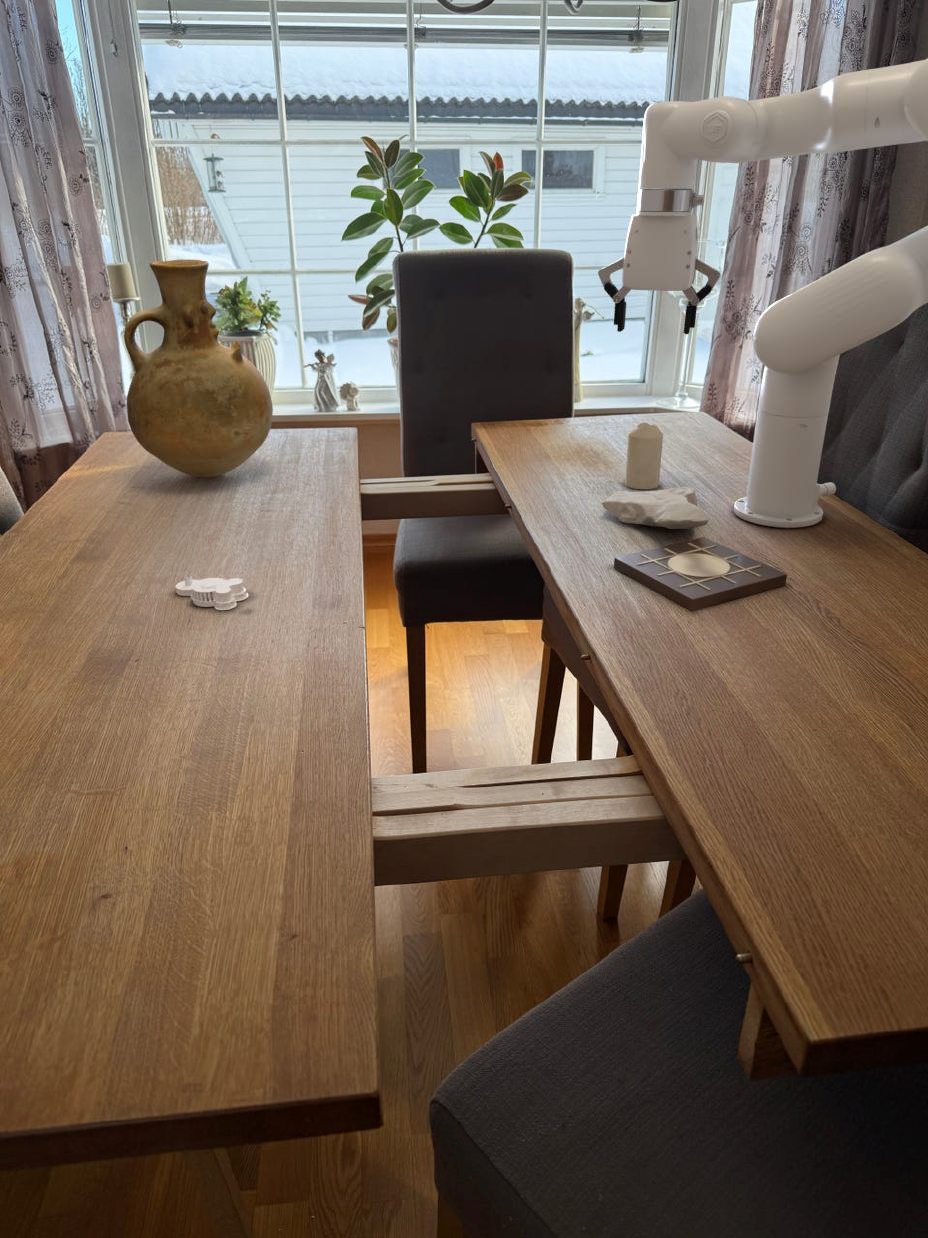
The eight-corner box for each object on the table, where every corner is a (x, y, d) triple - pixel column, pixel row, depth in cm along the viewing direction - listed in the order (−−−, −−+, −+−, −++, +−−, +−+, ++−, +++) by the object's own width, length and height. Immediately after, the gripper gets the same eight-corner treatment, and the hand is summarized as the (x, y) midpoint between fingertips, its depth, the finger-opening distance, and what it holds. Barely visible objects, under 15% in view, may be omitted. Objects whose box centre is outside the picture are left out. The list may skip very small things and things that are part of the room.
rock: (596, 546, 122) (708, 543, 119) (594, 513, 121) (708, 509, 117) (608, 507, 142) (705, 504, 138) (607, 479, 140) (705, 475, 136)
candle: (621, 480, 149) (625, 421, 144) (653, 479, 149) (658, 420, 145) (629, 490, 144) (633, 429, 139) (662, 489, 144) (668, 428, 140)
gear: (254, 582, 112) (252, 566, 111) (245, 611, 104) (243, 595, 103) (179, 586, 111) (176, 570, 110) (165, 615, 104) (162, 599, 103)
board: (702, 546, 121) (703, 535, 120) (785, 585, 109) (787, 573, 108) (613, 568, 115) (614, 556, 114) (691, 611, 103) (692, 598, 102)
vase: (133, 501, 142) (89, 268, 127) (145, 461, 163) (109, 257, 148) (283, 489, 147) (258, 263, 132) (276, 451, 168) (254, 253, 153)
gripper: (729, 203, 124) (714, 330, 132) (606, 203, 129) (599, 325, 136) (728, 204, 118) (712, 337, 126) (598, 204, 122) (591, 333, 130)
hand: (653, 331), depth 131 cm, fingers open, 9 cm apart
